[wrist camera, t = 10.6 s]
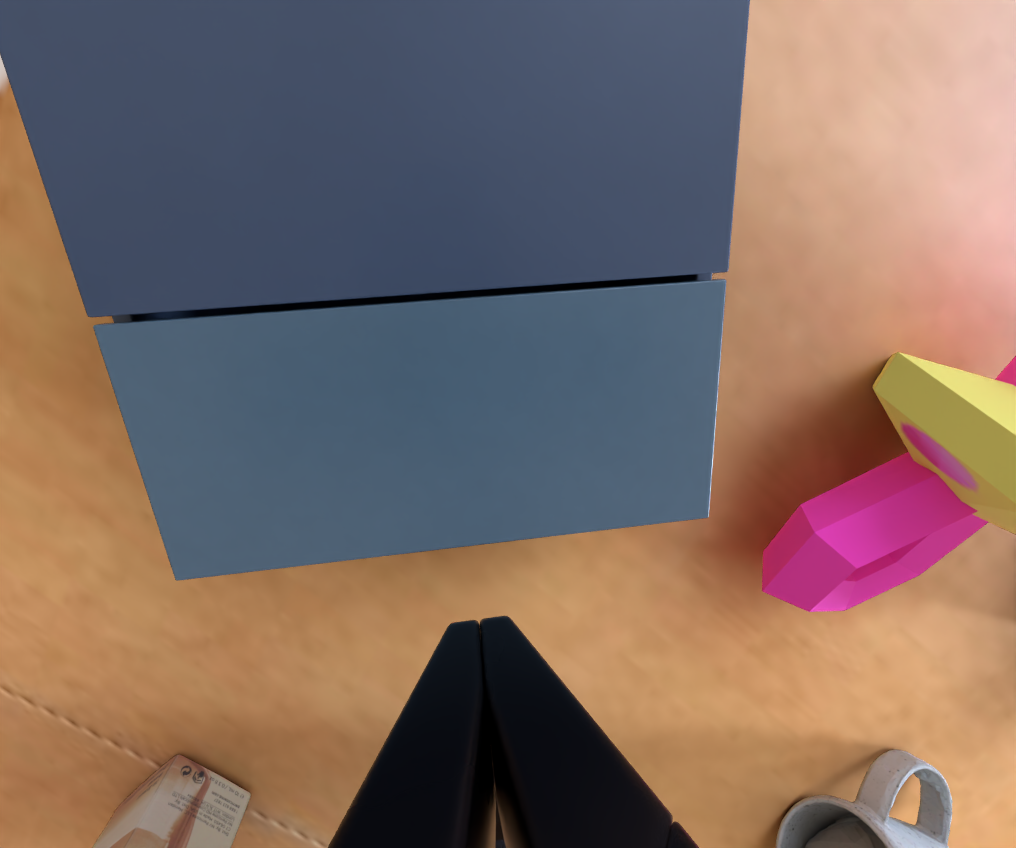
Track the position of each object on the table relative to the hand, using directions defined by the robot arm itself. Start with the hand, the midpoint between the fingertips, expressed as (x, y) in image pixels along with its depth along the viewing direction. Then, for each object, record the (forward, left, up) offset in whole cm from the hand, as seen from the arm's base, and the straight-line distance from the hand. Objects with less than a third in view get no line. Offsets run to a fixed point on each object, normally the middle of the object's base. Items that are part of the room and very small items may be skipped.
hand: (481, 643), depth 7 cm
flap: (+1, +1, -5) cm, 5 cm away
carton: (+4, +1, -13) cm, 14 cm away
